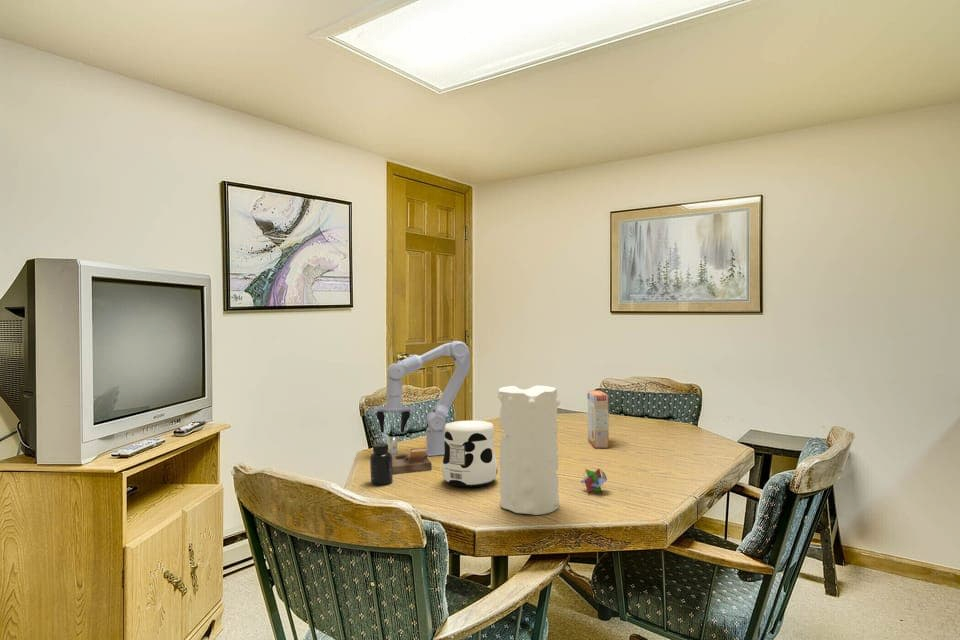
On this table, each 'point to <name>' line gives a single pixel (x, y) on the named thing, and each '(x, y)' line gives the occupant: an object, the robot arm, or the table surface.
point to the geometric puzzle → (594, 480)
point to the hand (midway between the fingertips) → (392, 431)
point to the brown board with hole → (409, 464)
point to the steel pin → (393, 445)
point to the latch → (417, 453)
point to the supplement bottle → (381, 465)
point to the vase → (529, 449)
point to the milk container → (469, 453)
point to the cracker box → (598, 419)
